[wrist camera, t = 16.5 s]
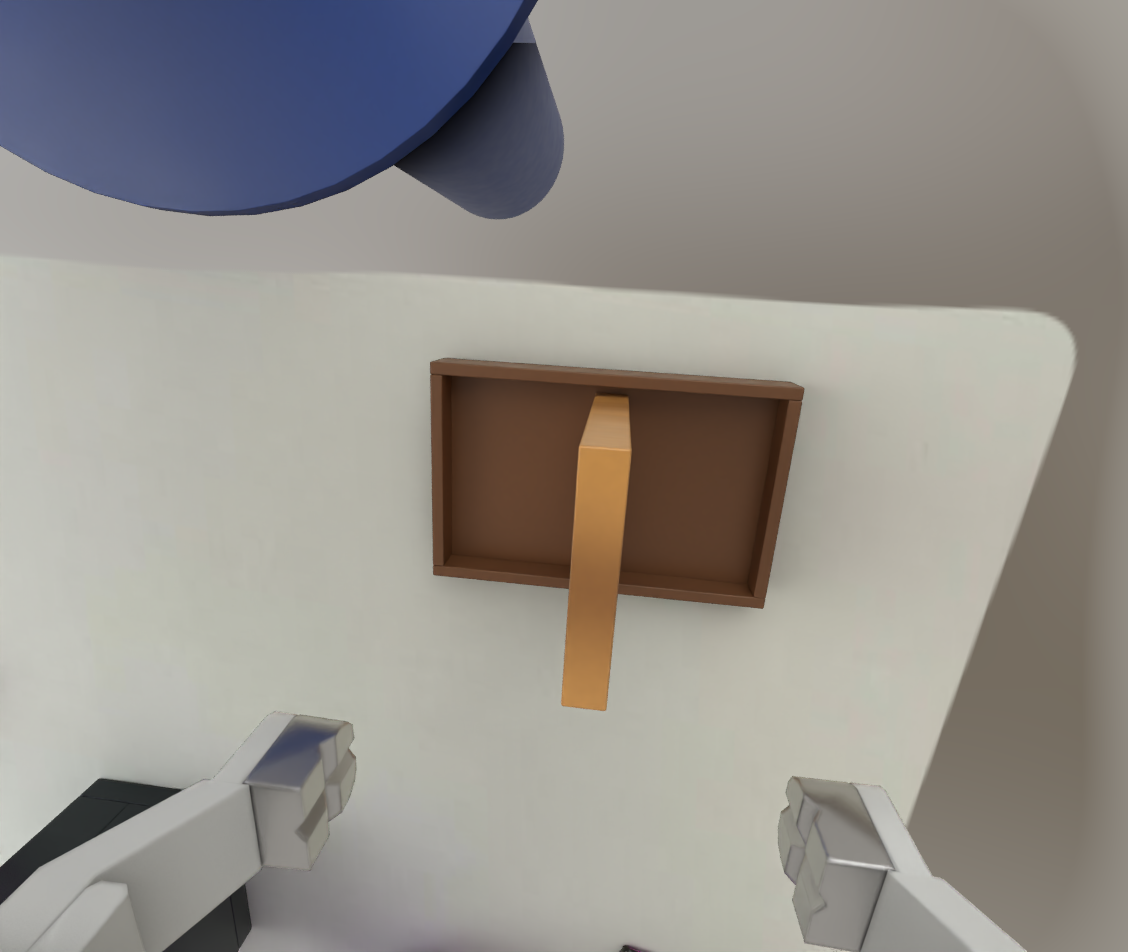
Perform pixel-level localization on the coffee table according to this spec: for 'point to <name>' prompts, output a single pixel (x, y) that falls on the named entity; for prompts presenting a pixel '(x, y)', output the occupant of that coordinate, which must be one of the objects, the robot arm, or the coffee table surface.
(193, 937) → the toaster
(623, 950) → the smartphone
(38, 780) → the coffee table surface
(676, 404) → the tray
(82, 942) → the robot arm
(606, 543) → the toast
